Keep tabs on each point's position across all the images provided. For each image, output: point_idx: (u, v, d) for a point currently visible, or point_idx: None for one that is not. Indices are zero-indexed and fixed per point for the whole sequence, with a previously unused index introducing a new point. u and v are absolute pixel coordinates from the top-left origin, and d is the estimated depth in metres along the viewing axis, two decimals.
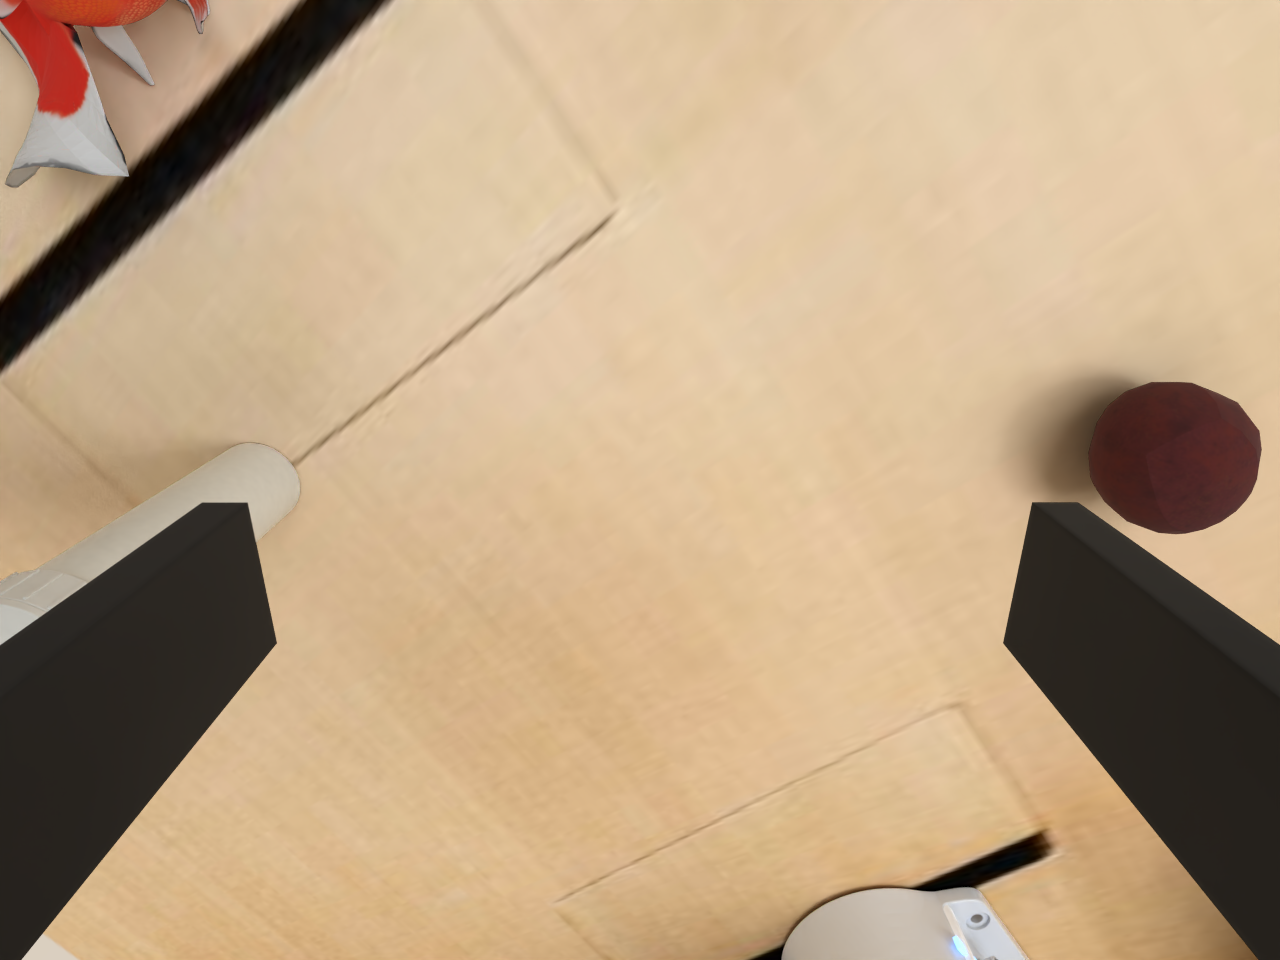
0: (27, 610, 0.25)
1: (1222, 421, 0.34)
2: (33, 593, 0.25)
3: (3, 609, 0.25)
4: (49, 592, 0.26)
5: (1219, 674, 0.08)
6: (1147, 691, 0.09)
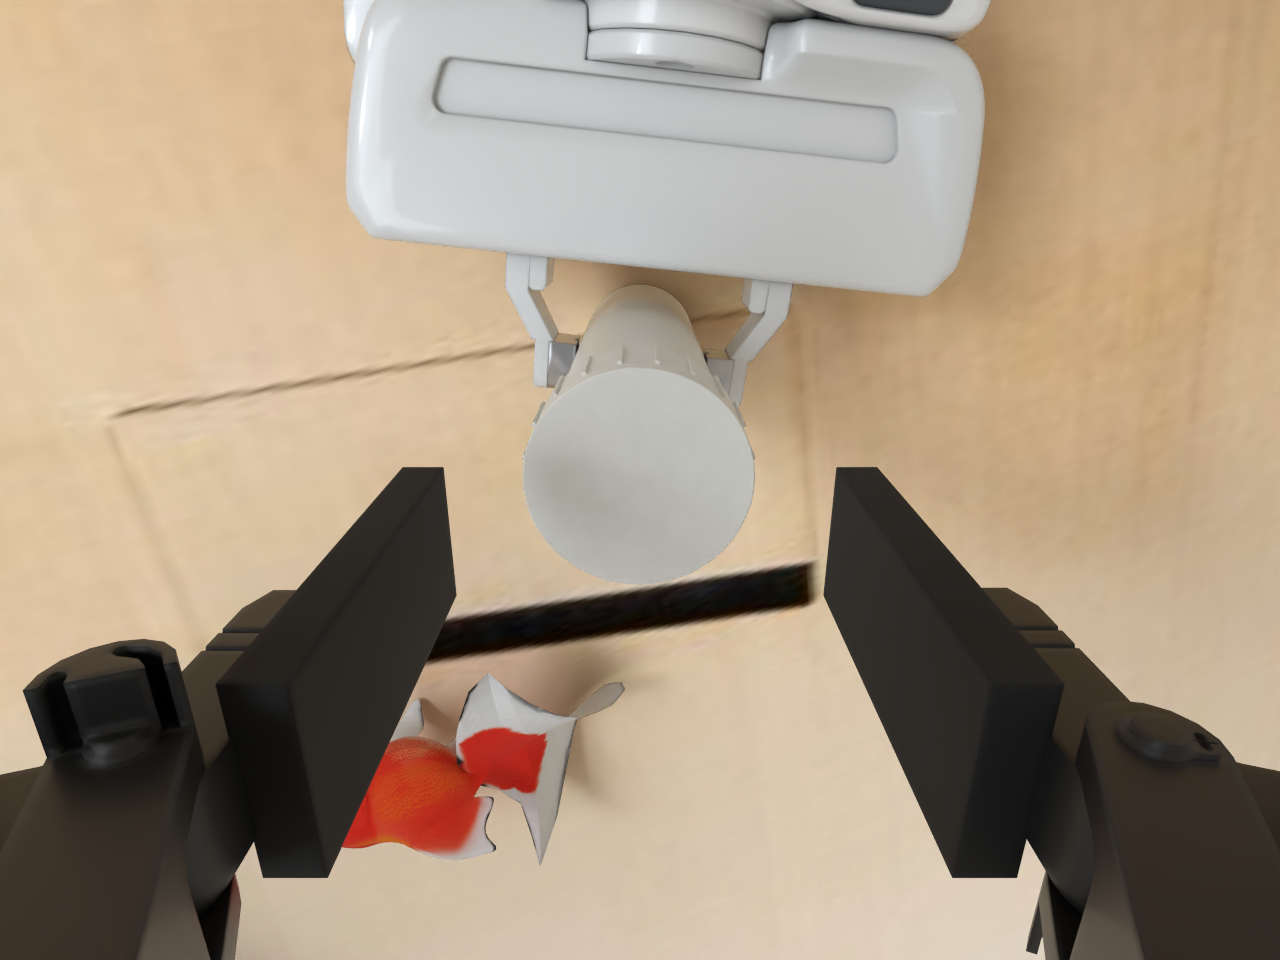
0: (547, 542, 0.17)
1: None
2: None
3: (576, 557, 0.17)
4: None
5: (915, 598, 0.10)
6: (886, 620, 0.11)
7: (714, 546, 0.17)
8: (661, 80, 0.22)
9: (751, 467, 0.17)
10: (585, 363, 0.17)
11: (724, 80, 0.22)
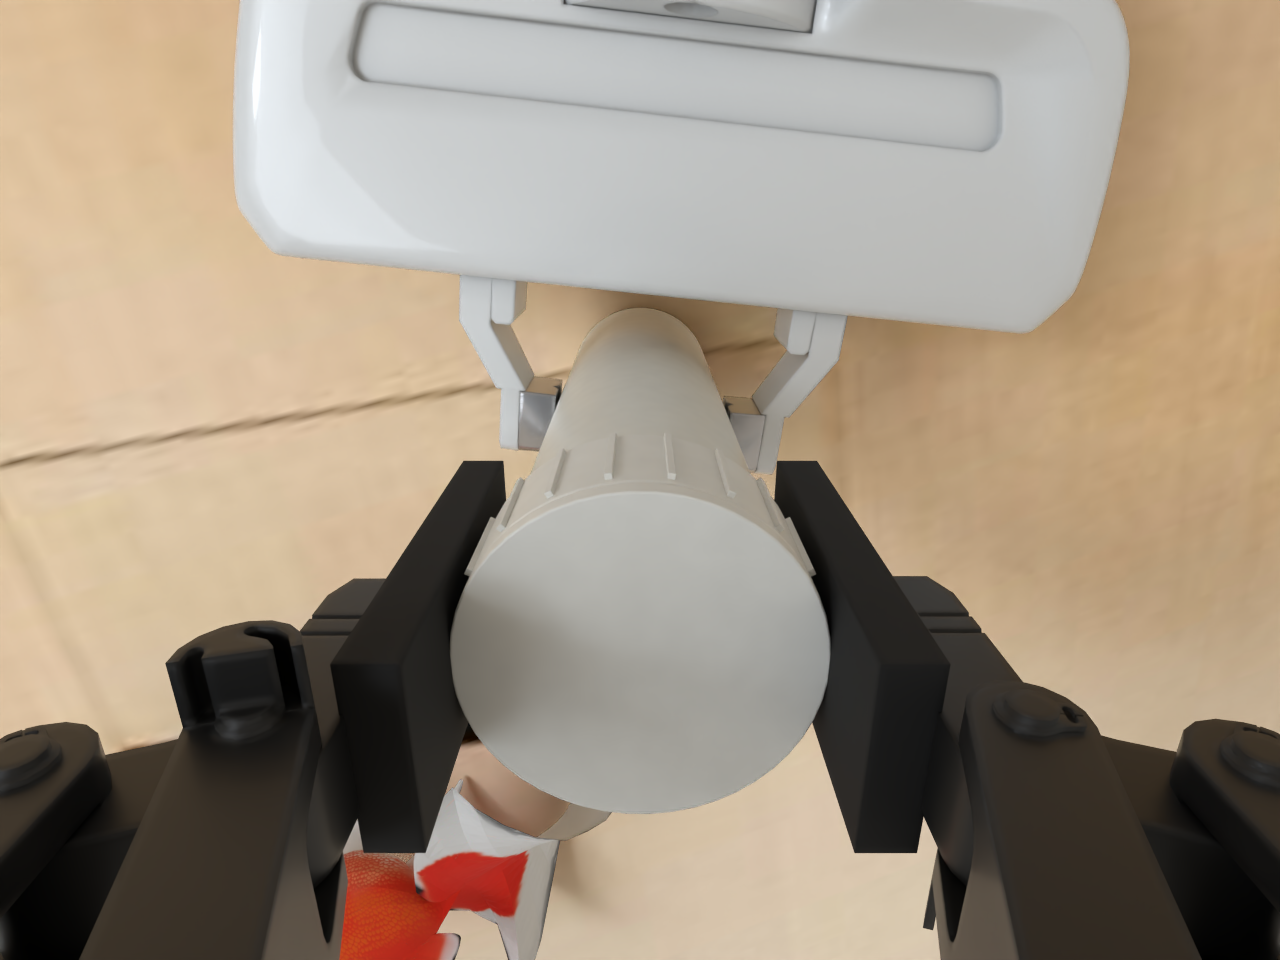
0: (493, 753, 0.11)
1: None
2: None
3: (539, 776, 0.11)
4: None
5: (830, 584, 0.10)
6: None
7: (761, 761, 0.11)
8: (670, 34, 0.16)
9: (825, 645, 0.10)
10: (554, 467, 0.11)
11: (760, 34, 0.16)
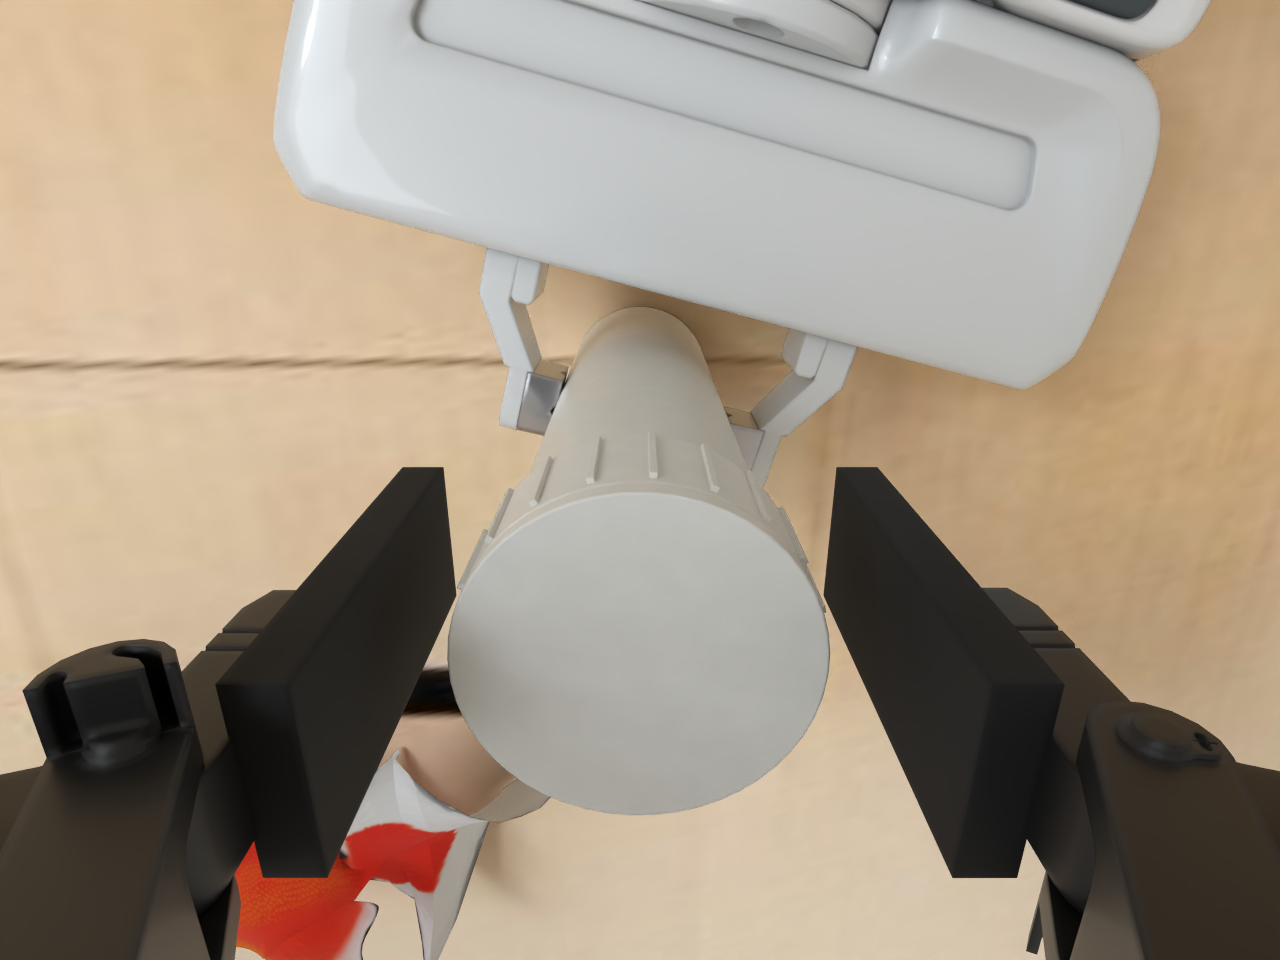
0: (705, 803, 0.11)
1: None
2: None
3: (742, 775, 0.11)
4: None
5: (915, 598, 0.10)
6: (886, 620, 0.11)
7: (789, 582, 0.10)
8: (733, 47, 0.16)
9: (657, 497, 0.09)
10: None
11: (819, 62, 0.16)
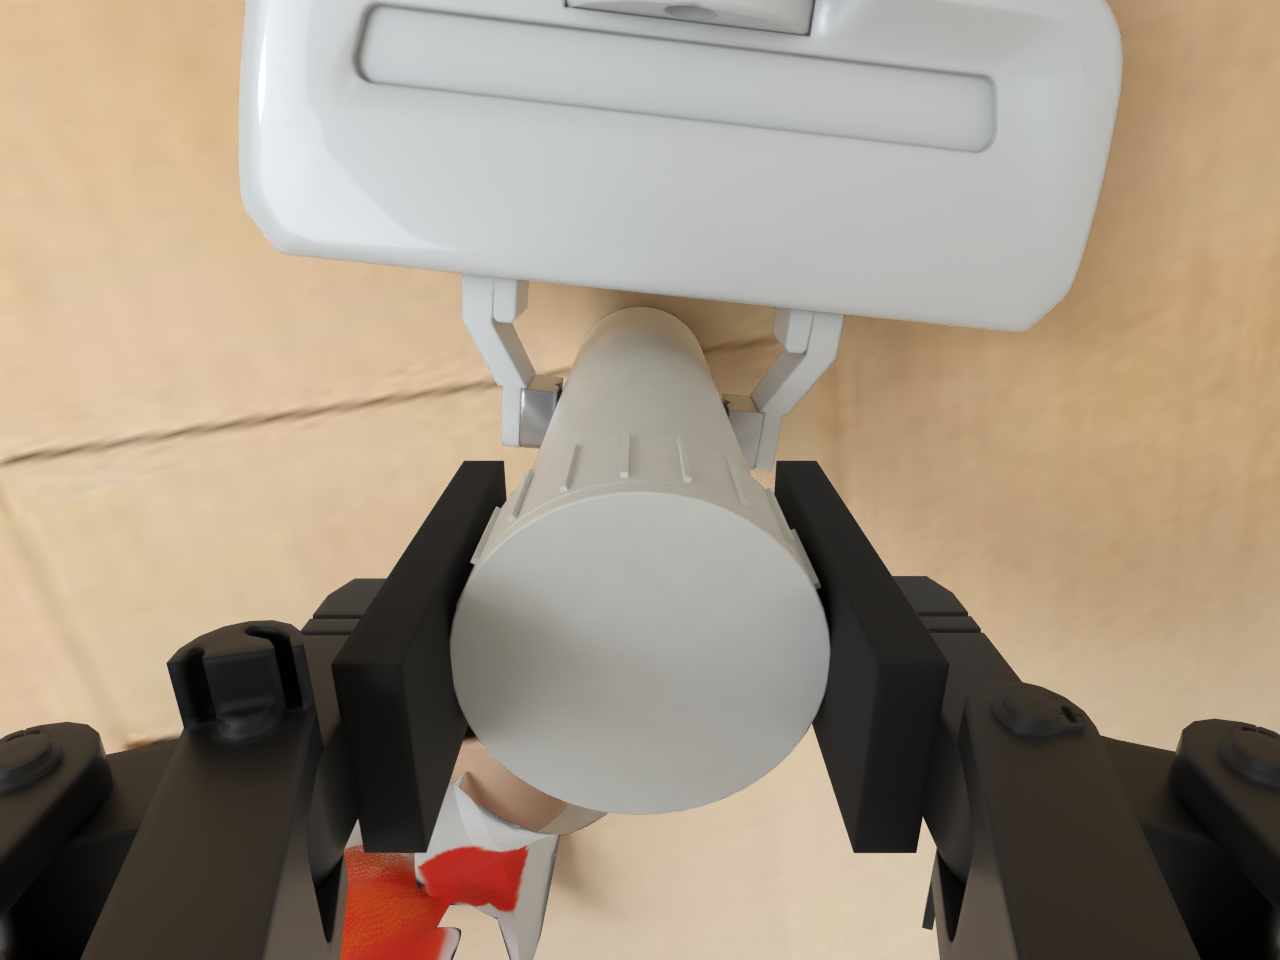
0: (730, 794, 0.11)
1: None
2: None
3: (762, 761, 0.11)
4: None
5: (829, 584, 0.10)
6: None
7: (774, 562, 0.10)
8: (671, 36, 0.16)
9: (627, 496, 0.09)
10: None
11: (759, 36, 0.16)
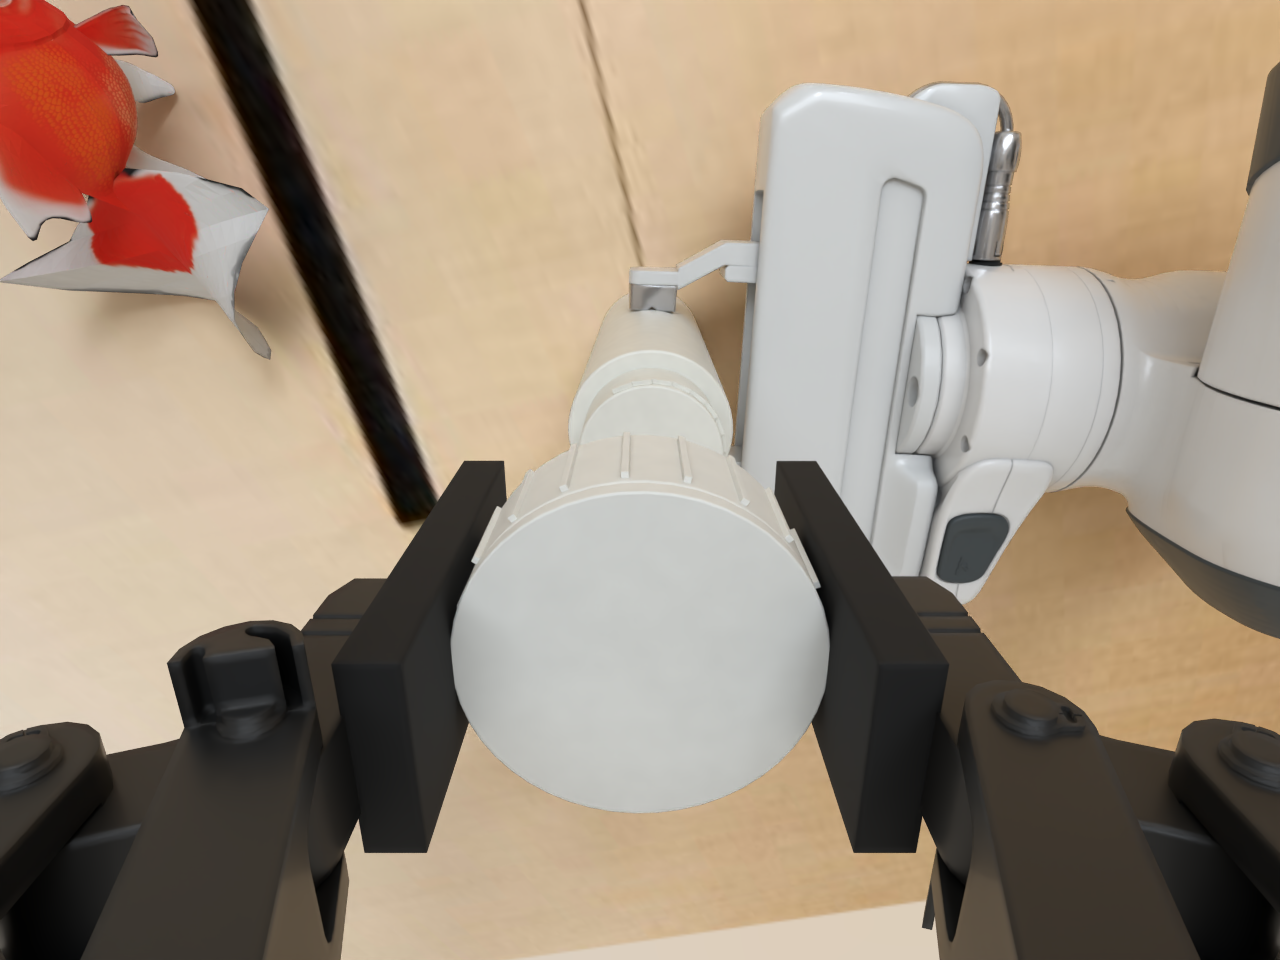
0: (730, 792, 0.11)
1: None
2: None
3: (762, 760, 0.11)
4: None
5: (829, 584, 0.10)
6: None
7: (774, 562, 0.10)
8: (898, 377, 0.28)
9: (628, 496, 0.09)
10: None
11: (896, 426, 0.28)
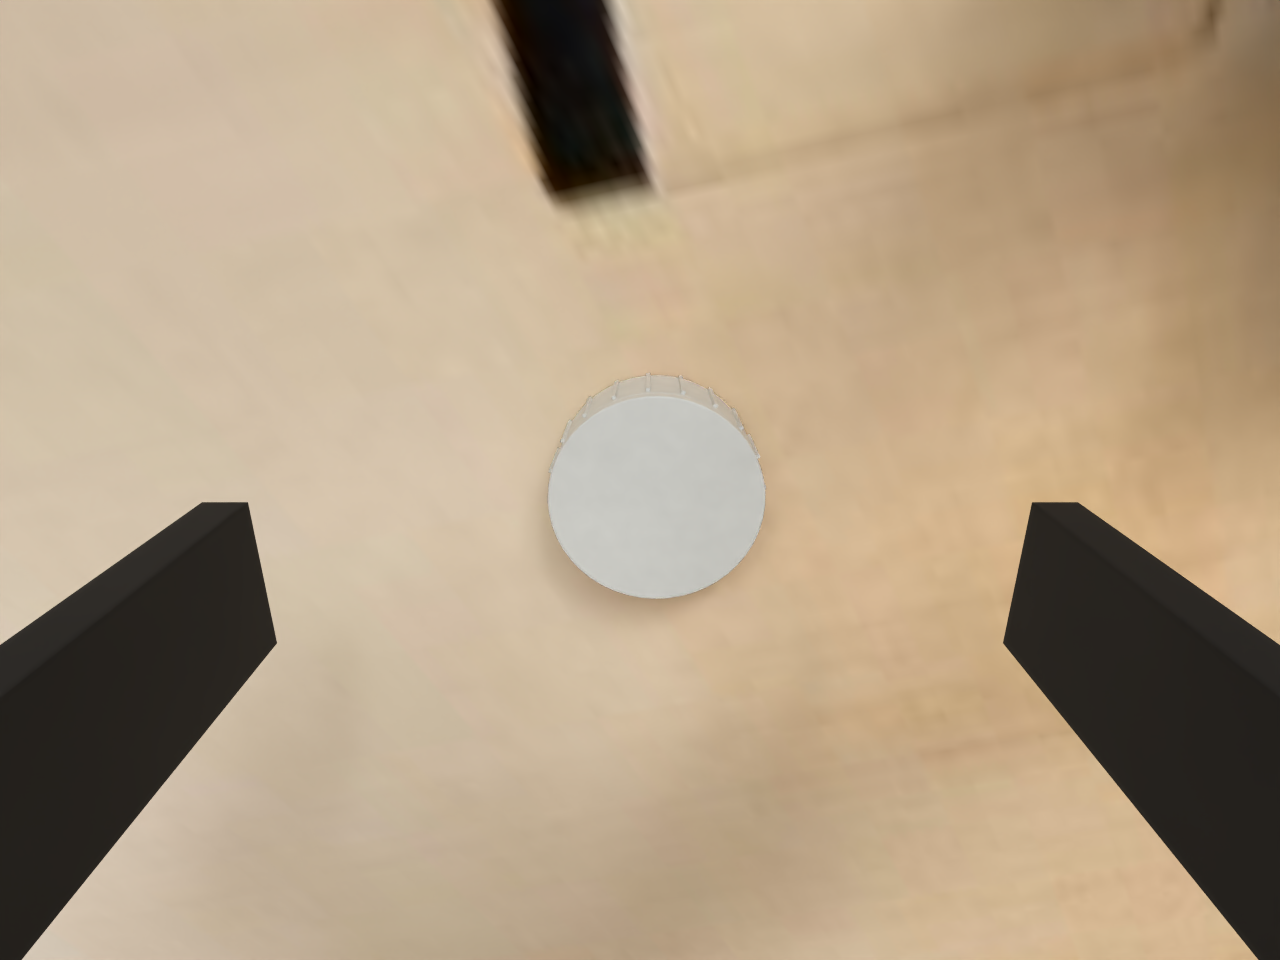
0: (709, 585, 0.19)
1: None
2: None
3: (727, 563, 0.18)
4: None
5: (1219, 674, 0.08)
6: (1147, 691, 0.09)
7: (731, 437, 0.17)
8: None
9: (650, 399, 0.17)
10: None
11: None
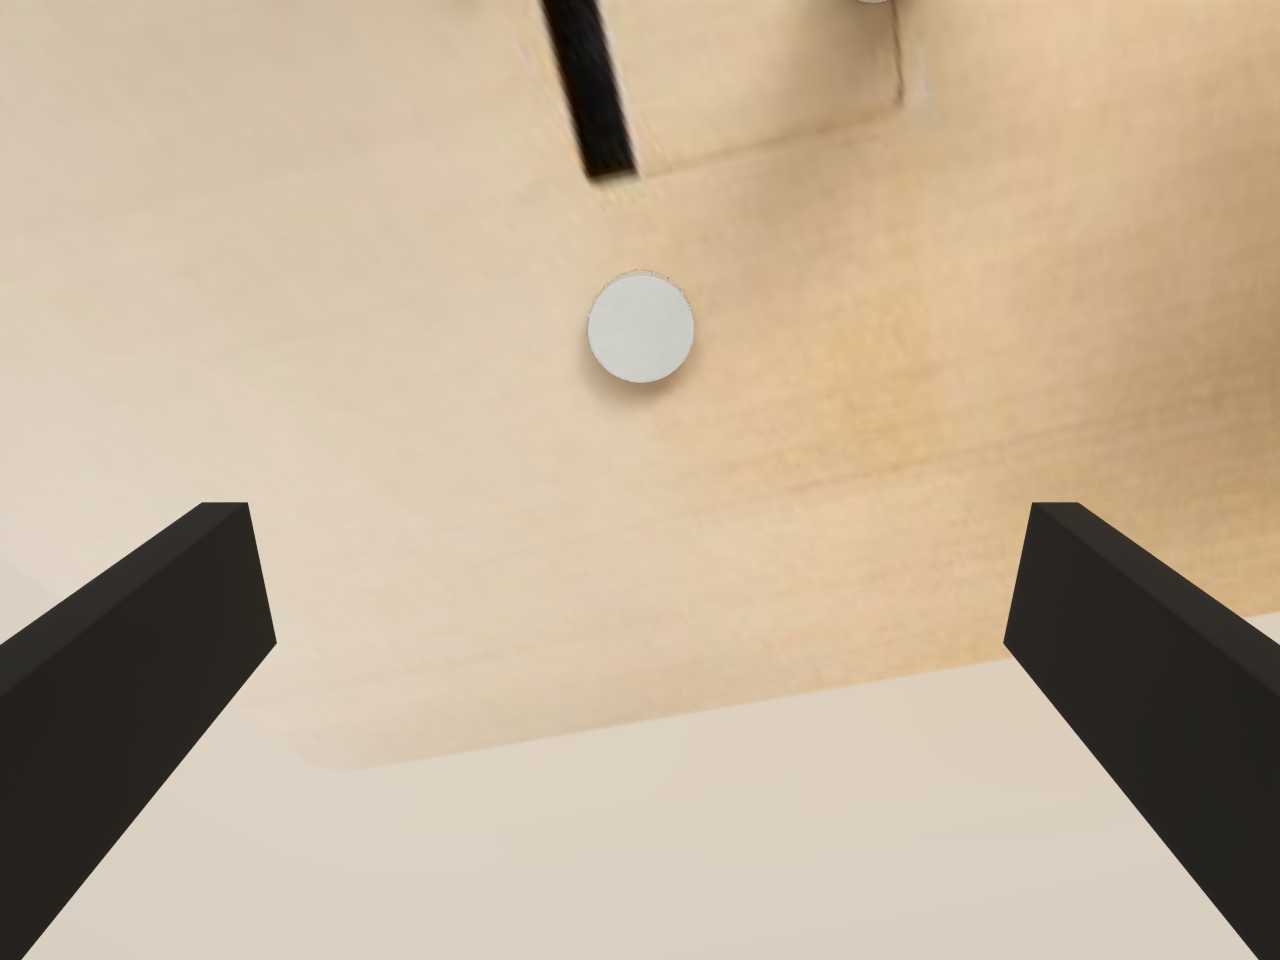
0: (667, 375, 0.37)
1: None
2: None
3: (676, 363, 0.37)
4: None
5: (1219, 674, 0.08)
6: (1147, 691, 0.09)
7: (677, 296, 0.36)
8: None
9: (637, 277, 0.36)
10: None
11: None
